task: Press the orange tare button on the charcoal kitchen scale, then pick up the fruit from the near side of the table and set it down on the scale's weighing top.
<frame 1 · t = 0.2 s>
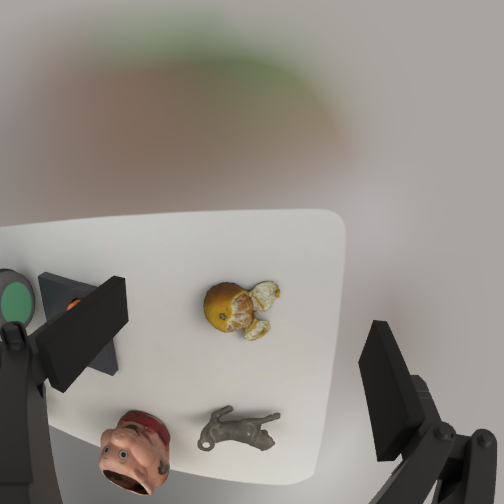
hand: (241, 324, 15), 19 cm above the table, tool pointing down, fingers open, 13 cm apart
fruit: (245, 308, 36), on the table
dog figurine: (244, 416, 42), on the table
scale: (79, 322, 41), on the table
grey headset: (10, 285, 43), on the table
tare button: (79, 313, 36), point 4 cm above the table, slide at 0.2 cm
decorative planter: (151, 430, 48), on the table
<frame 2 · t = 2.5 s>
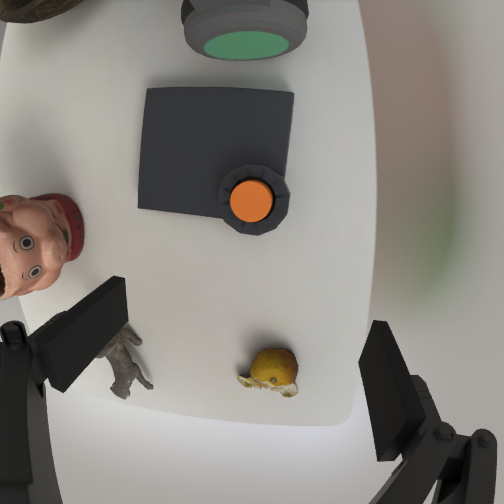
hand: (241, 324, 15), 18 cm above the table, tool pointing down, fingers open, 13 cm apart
fruit: (268, 371, 37), on the table
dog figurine: (130, 350, 40), on the table
scale: (213, 151, 29), on the table
tare button: (251, 200, 27), point 4 cm above the table, slide at 0.2 cm
decorative planter: (55, 227, 36), on the table
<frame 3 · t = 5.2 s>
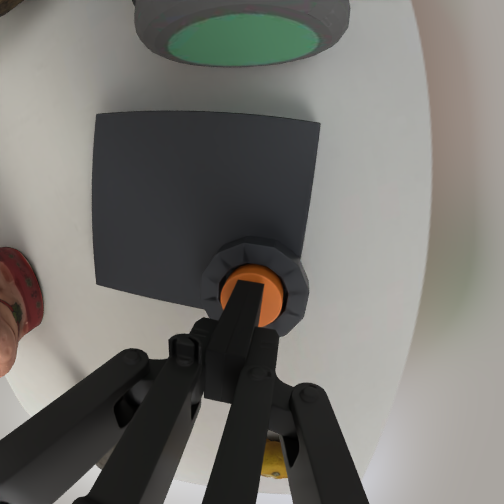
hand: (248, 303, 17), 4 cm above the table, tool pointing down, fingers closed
fruit: (270, 454, 28), on the table
scale: (194, 208, 20), on the table
tare button: (252, 296, 18), point 3 cm above the table, slide at -0.4 cm, touching gripper
decorative planter: (13, 284, 26), on the table
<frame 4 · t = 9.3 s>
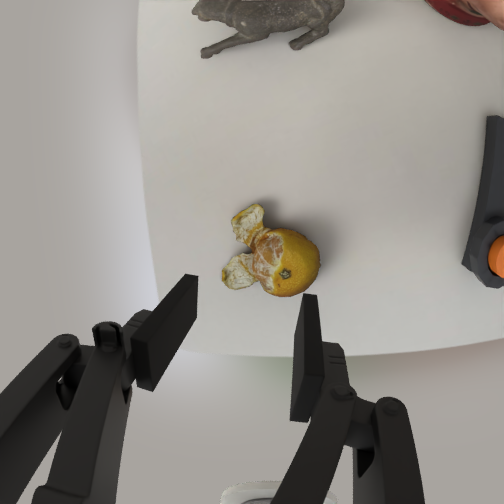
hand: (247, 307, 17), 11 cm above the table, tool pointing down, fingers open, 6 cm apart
fruit: (266, 247, 27), on the table
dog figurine: (269, 27, 21), on the table
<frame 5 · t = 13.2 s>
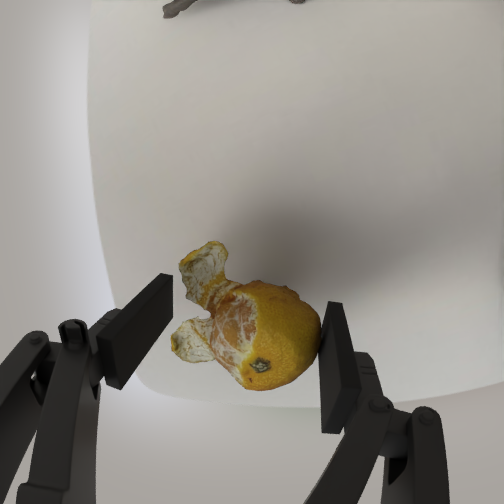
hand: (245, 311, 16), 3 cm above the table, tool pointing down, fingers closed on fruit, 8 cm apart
fruit: (235, 306, 17), point 3 cm above the table, touching gripper
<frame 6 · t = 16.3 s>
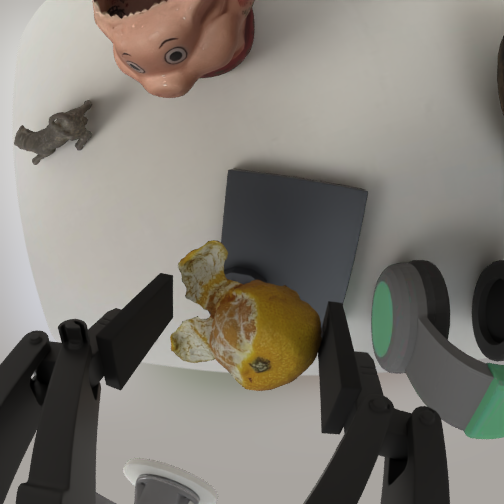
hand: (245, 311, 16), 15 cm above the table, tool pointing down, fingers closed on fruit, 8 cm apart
fruit: (235, 306, 17), point 15 cm above the table, touching gripper
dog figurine: (68, 132, 30), on the table
scale: (287, 251, 31), on the table
grey headset: (442, 291, 30), on the table
decorative planter: (208, 26, 24), on the table
when the fingers open (4 cm above the table, at t = 19.3 s): fruit stays where it is, resting on scale.
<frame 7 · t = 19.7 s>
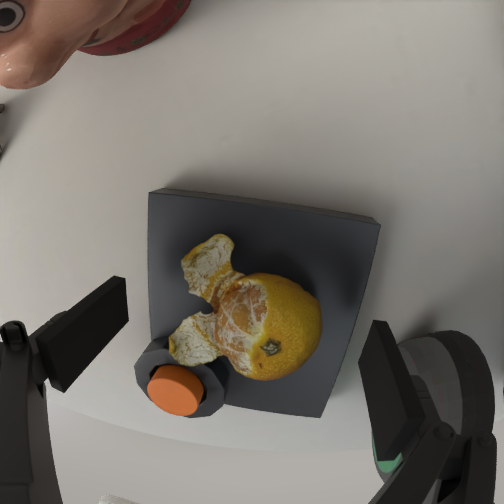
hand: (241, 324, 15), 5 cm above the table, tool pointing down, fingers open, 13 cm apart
fruit: (236, 302, 17), point 2 cm above the table, touching scale
scale: (250, 312, 20), on the table
grey headset: (472, 354, 19), on the table
tare button: (175, 391, 18), point 4 cm above the table, slide at 0.1 cm
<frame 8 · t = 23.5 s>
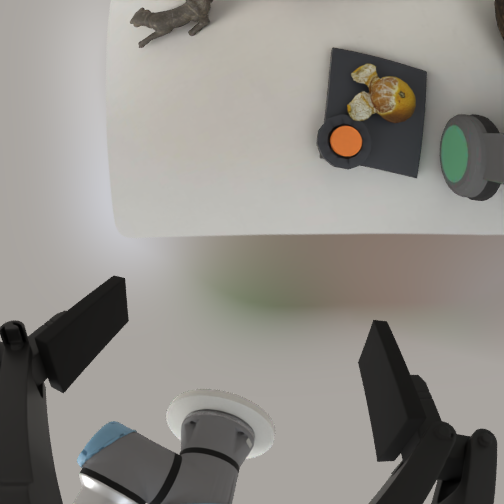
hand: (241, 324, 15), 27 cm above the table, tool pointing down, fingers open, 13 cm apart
fruit: (375, 94, 31), point 2 cm above the table, touching scale
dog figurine: (179, 24, 33), on the table
scale: (374, 112, 34), on the table
grey headset: (485, 160, 32), on the table
tare button: (345, 141, 32), point 4 cm above the table, slide at 0.1 cm
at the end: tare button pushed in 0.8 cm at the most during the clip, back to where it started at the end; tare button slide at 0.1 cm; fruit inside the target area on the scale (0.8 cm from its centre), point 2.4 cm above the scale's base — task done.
